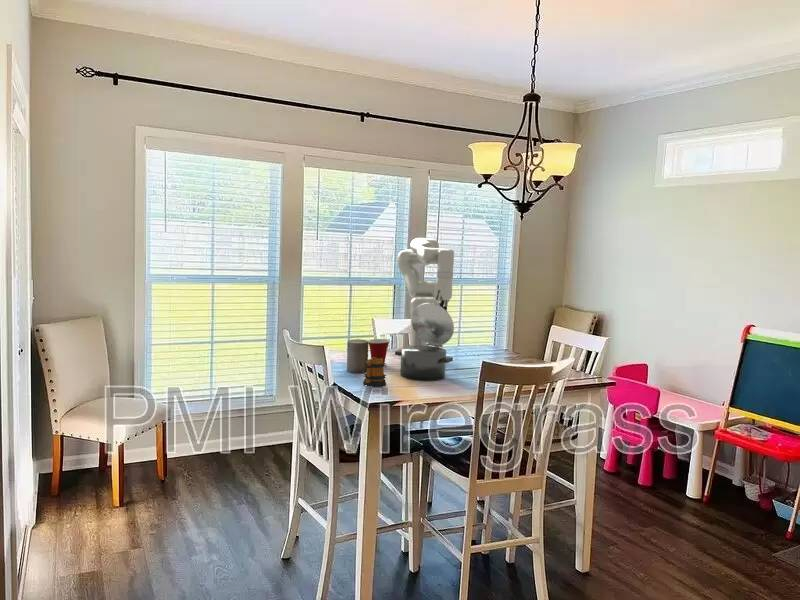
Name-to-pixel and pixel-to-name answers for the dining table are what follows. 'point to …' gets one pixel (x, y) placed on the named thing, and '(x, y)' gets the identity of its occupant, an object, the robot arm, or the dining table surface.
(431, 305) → the lid
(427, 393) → the dining table surface
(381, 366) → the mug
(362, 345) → the pillar candle
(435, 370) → the pot
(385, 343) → the plastic cup
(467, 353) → the dining table surface
